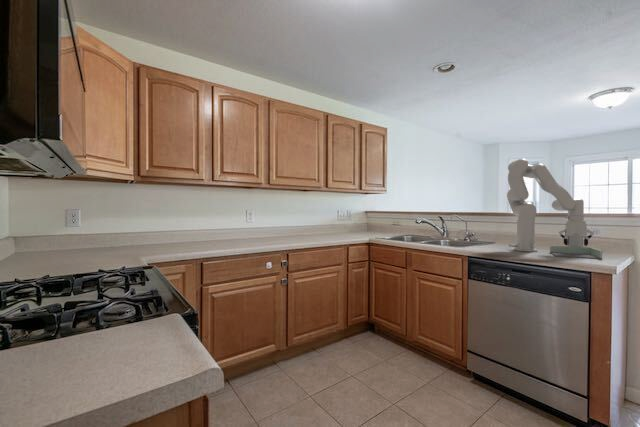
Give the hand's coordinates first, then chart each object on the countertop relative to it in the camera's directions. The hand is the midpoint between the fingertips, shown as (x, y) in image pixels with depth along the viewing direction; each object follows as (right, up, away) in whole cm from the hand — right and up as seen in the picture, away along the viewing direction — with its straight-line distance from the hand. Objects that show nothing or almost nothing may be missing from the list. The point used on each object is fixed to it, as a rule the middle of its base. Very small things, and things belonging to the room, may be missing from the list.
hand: (575, 245), depth 188 cm
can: (0, -5, 0) cm, 5 cm away
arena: (-14, -5, -15) cm, 21 cm away
